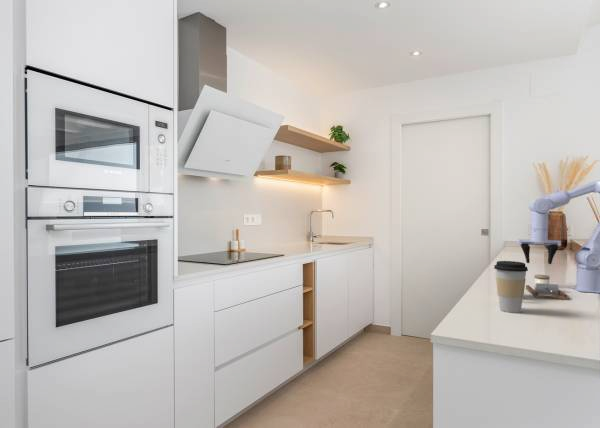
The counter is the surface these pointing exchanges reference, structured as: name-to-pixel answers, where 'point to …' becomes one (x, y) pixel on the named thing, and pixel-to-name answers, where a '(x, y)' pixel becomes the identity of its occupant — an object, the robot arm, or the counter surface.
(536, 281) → the jar
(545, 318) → the counter surface
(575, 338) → the counter surface
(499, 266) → the coffee cup
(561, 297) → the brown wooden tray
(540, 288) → the pusher plate
